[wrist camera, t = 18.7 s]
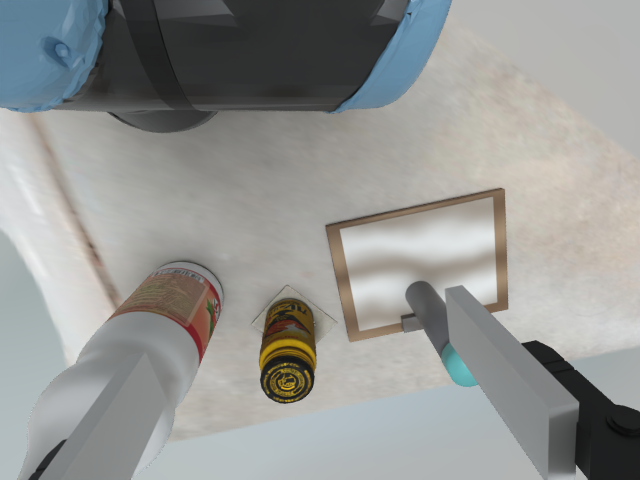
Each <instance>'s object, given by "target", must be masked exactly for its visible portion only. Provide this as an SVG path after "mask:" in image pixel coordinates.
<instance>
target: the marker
mask: <svg viewBox="0 0 640 480" xmlns="http://www.w3.org/2000/svg"><path fill="white" fill-rule="evenodd" d="M405 298H406V301H407V302H408V304H409V306H410V307H411V309H412V311H413V312H414V314H415V316H416V317H417V319H418V321H419V322H420V324H421V326H422V327H423V329H424V331H425V332H426V334H427V336H428V337H429V339H430V341H431V342H432V344H433V346H434V348H435V349H436V351H437V353H438V354H439V356H440V358H441V360H442V363H443V365H444V366H445V368H446V370H447V372H448V373H449V375H450V377H451V378H452V380H453V381H454V382H455V383H456V384H458V385H461V386H465V387H470V386H475V385H478V383H477V381H476V380H475V379H474V377H473V376H472V374H471V373H470V371H469V370H468V368H467V367H466V365H465V364H464V362H463V361H462V360H461V358H460V357H459V355H458V354H457V352H456V351H455V349H454V348H453V346H452V345H451V343H450V340H449V330H448V320H447V309H446V303H445V302H444V301H443V299H442V298H441V297H440V296H439V294H438V293H437V292H436V291H435V289H434V288H433V287H432V286H431V285H430V284H429V283H428V282H425V281H417V282H414V283H412V284H411V285H410V286H409V287H408V288H407V290H406V293H405Z"/></svg>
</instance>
